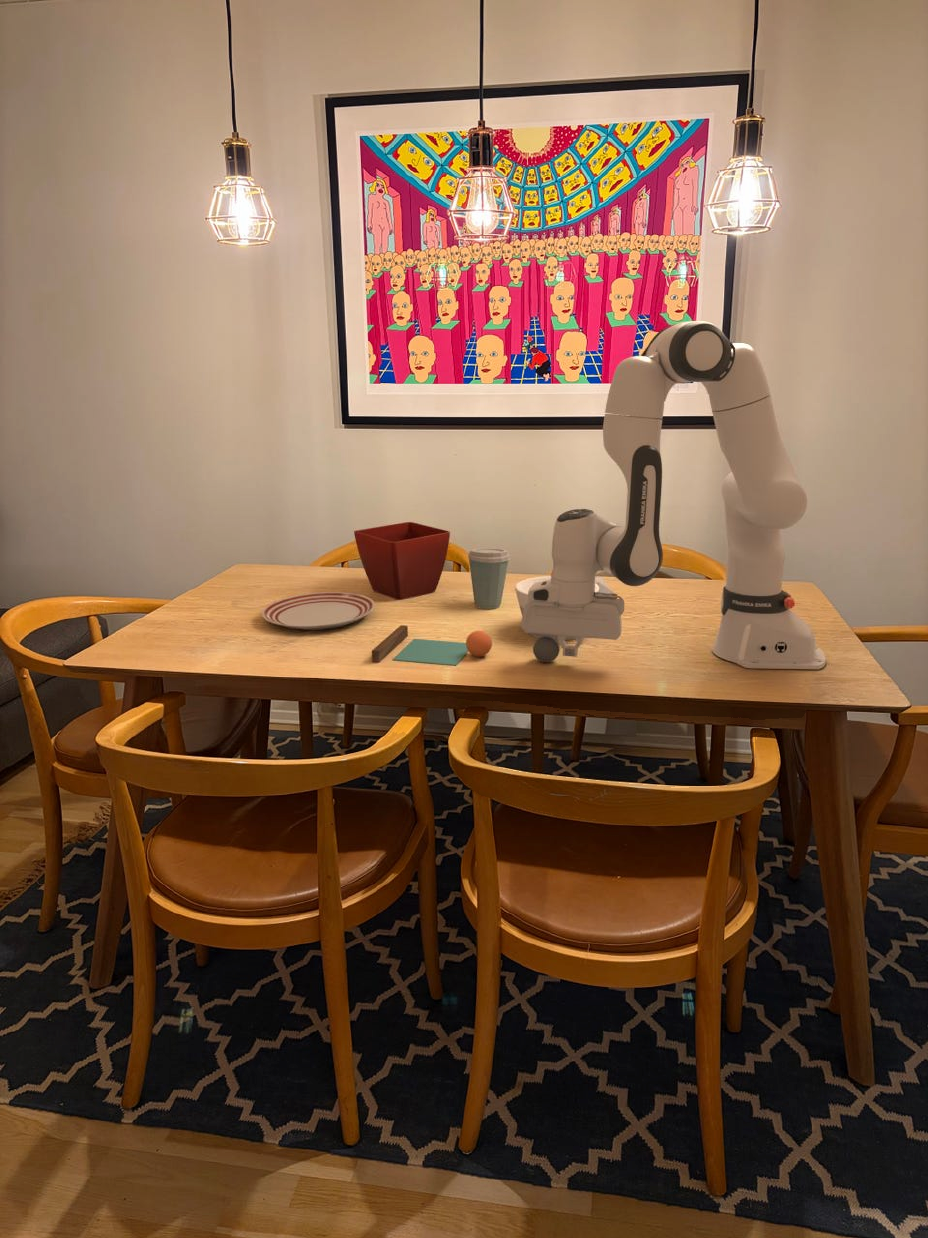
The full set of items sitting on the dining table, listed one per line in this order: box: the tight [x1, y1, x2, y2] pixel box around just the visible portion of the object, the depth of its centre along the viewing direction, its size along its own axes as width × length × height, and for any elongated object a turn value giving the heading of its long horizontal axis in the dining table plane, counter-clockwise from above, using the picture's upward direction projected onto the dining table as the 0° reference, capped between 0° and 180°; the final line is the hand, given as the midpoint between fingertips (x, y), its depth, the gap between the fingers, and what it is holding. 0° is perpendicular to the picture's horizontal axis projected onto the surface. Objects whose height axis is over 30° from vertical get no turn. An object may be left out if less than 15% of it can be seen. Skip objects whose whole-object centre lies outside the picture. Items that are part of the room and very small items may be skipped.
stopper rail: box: [371, 624, 409, 663], centre depth 184 cm, size 2×18×2 cm, turn 165°
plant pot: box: [353, 521, 451, 600], centre depth 227 cm, size 19×19×17 cm
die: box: [595, 576, 614, 594], centre depth 211 cm, size 8×9×10 cm
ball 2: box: [532, 636, 561, 663], centre depth 175 cm, size 6×6×6 cm
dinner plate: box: [261, 591, 376, 631], centre depth 206 cm, size 27×27×3 cm
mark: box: [392, 638, 469, 667], centre depth 182 cm, size 14×14×1 cm
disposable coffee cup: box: [467, 547, 511, 610], centre depth 213 cm, size 11×11×15 cm
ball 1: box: [465, 630, 492, 658], centre depth 178 cm, size 6×6×6 cm
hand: (570, 655), depth 173 cm, fingers closed
